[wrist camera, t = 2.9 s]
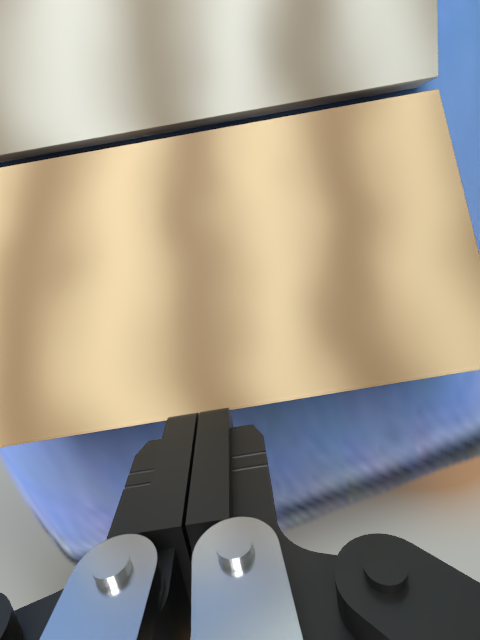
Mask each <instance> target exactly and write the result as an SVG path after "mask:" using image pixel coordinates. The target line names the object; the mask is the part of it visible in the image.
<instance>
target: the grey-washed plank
mask: <svg viewBox="0 0 480 640" xmlns="http://www.w3.org/2000/svg"><path fill="white" fill-rule="evenodd" d="M436 77H438V6H437V0H0V162H6V161H12V160H17V159H23V158H28V157H34V156H39V155H45V154H51V153H56V152H62V151H67V150H73V149H78V148H84V147H90V146H95V145H101V144H106V143H112V142H117V141H123V140H129V139H134V138H140V137H145V136H151V135H156V134H162V133H168V132H173V131H179V130H184V129H190V128H195V127H201V126H207V125H212V124H218V123H223V122H229V121H234V120H240V119H246V118H251V117H257V116H262V115H268V114H274V113H279V112H285V111H290V110H296V109H301V108H307V107H313V106H318V105H324V104H329V103H335V102H340V101H346V100H352V99H357V98H363V97H368V96H374V95H379V94H385V93H391V92H396V91H402V90H407V89H413V88H418V87H420V86H421V85H423V84H425V83H427V82H429V81H430V80H432V79H434V78H436Z"/></svg>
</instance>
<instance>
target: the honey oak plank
mask: <svg viewBox="0 0 480 640" xmlns="http://www.w3.org/2000/svg"><path fill="white" fill-rule="evenodd" d="M474 370H480V255H479V251H478V247H477V243H476V239H475V235H474V231H473V227H472V223H471V219H470V215H469V211H468V207H467V203H466V199H465V194H464V190H463V186H462V182H461V178H460V174H459V170H458V166H457V162H456V158H455V154H454V150H453V146H452V142H451V138H450V134H449V130H448V126H447V122H446V117H445V113H444V109H443V105H442V101H441V97H440V93H439V89H436V90H431V91H425V92H420V93H414V94H409V95H403V96H397V97H392V98H386V99H381V100H375V101H369V102H364V103H358V104H353V105H347V106H342V107H336V108H330V109H325V110H319V111H314V112H308V113H302V114H297V115H291V116H286V117H280V118H275V119H269V120H263V121H258V122H252V123H247V124H241V125H235V126H230V127H224V128H219V129H213V130H208V131H202V132H196V133H191V134H185V135H180V136H174V137H168V138H163V139H157V140H152V141H146V142H141V143H135V144H129V145H124V146H118V147H113V148H107V149H101V150H96V151H90V152H85V153H79V154H74V155H68V156H62V157H57V158H51V159H46V160H40V161H34V162H29V163H23V164H18V165H12V166H7V167H1V168H0V447H5V446H12V445H18V444H24V443H30V442H36V441H42V440H49V439H55V438H61V437H67V436H73V435H79V434H86V433H92V432H98V431H104V430H110V429H116V428H122V427H129V426H135V425H141V424H147V423H153V422H159V421H166V420H167V419H168V417H173V416H179V415H186V414H192V413H198V414H199V413H200V412H204V411H210V410H216V409H223V408H229V409H230V410H233V409H239V408H246V407H252V406H258V405H264V404H270V403H276V402H283V401H289V400H295V399H301V398H307V397H313V396H320V395H326V394H332V393H338V392H344V391H350V390H357V389H363V388H369V387H375V386H381V385H387V384H393V383H400V382H406V381H412V380H418V379H424V378H430V377H437V376H443V375H449V374H455V373H461V372H467V371H474Z"/></svg>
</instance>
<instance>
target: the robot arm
mask: <svg viewBox="0 0 480 640" xmlns="http://www.w3.org/2000/svg"><path fill="white" fill-rule="evenodd" d="M190 637H191V640H480V583H479V582H477V581H476V580H474V579H472V578H470V577H469V576H467V575H465V574H464V573H462V572H460V571H458V570H457V569H455V568H453V567H452V566H450V565H448V564H446V563H445V562H443V561H441V560H439V559H438V558H436V557H434V556H433V555H431V554H429V553H427V552H426V551H424V550H422V549H420V548H419V547H417V546H415V545H414V544H412V543H410V542H408V541H406V540H404V539H402V538H399V537H396V536H392V535H388V534H368V535H363V536H360V537H358V538H355V539H353V540H351V541H350V542H348V543H347V544H346V545H345V546H344V547H343V548H342V550H341V551H340V552H339V554H338V556H337V555H330V554H324V553H317V552H313V551H309V550H306V549H303V548H301V547H299V546H297V545H295V544H294V543H292V542H291V541H290V540H288V538H286V537H285V536H284V534H283V533H282V532H281V530H280V528H279V526H278V524H277V518H276V511H275V505H274V499H273V492H272V486H271V480H270V474H269V468H268V462H267V456H266V450H265V444H264V437H263V435H262V434H261V433H260V432H259V431H258V430H257V429H256V428H255V427H254V425H247V426H240V427H234V428H233V423H232V418H231V413H230V409H229V408H223V409H216V410H210V411H204V412H200V413H199V414H198V413H192V414H186V415H179V416H173V417H168V419H167V422H166V426H165V429H164V433H163V437H162V439H159V440H153V441H148V442H147V444H146V445H145V446H144V447H143V448H142V449H141V450H140V451H139V453H138V454H137V455H136V456H135V458H134V461H133V464H132V467H131V470H130V475H129V476H128V479H127V482H126V484H125V489H124V490H123V493H122V496H121V499H120V502H119V505H118V507H117V510H116V513H115V516H114V519H113V522H112V525H111V528H110V530H109V533H108V536H107V539H106V541H104V542H102V543H100V544H98V545H97V546H96V547H94V548H93V549H91V550H90V551H89V552H88V553H87V554H86V555H85V556H84V557H83V558H82V559H81V560H80V561H79V563H78V564H77V565H76V567H75V568H74V570H73V572H72V574H71V575H70V577H69V580H68V582H67V584H66V586H65V588H64V589H62V590H60V591H58V592H56V593H54V594H52V595H49V596H47V597H45V598H43V599H40V600H38V601H36V602H34V603H31V604H29V605H27V606H24V607H22V608H20V609H18V610H15V611H14V610H13V608H12V606H11V604H10V601H9V600H8V598H7V597H6V596H5V595H4V594H2V593H0V640H190Z"/></svg>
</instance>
